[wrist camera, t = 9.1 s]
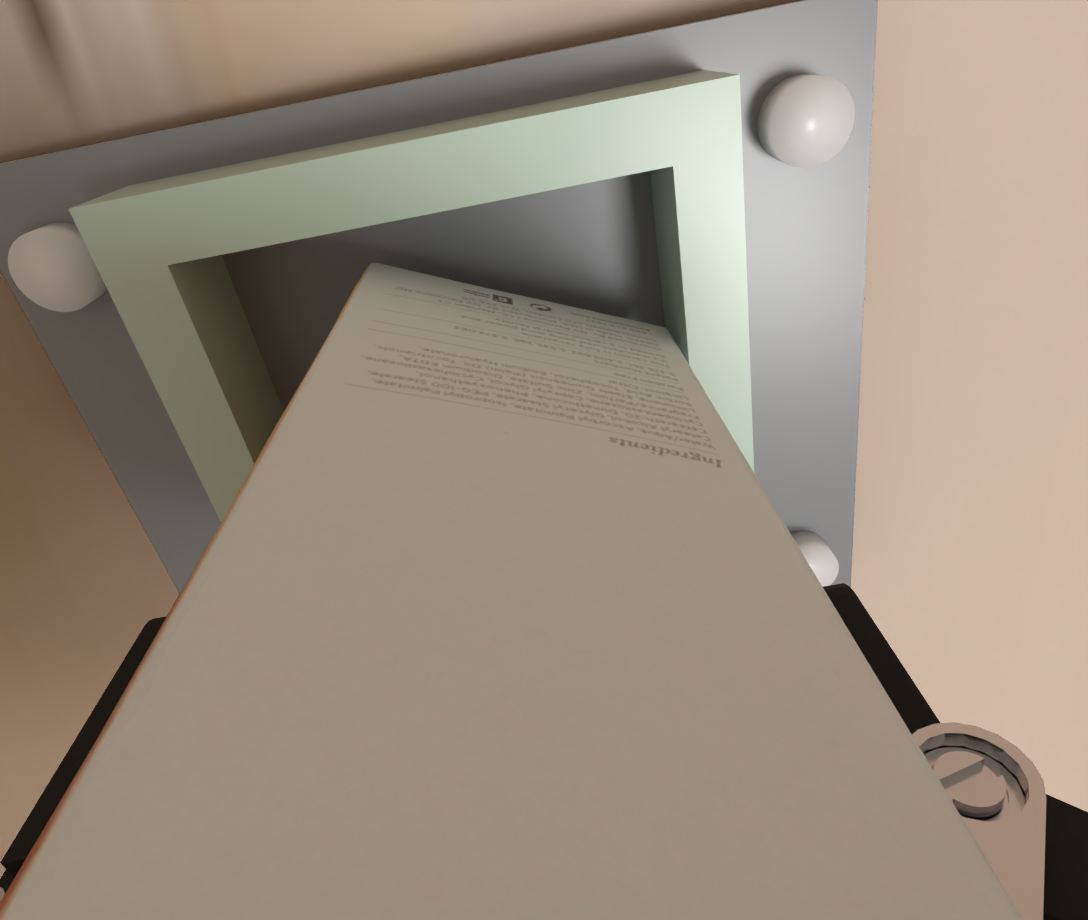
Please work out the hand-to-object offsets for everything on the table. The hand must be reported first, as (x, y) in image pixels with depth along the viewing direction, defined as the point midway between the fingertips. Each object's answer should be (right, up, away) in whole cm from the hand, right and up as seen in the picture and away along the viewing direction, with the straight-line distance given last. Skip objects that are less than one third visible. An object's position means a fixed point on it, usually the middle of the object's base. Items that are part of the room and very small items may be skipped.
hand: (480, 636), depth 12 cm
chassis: (0, +4, +7) cm, 8 cm away
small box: (0, +3, +5) cm, 6 cm away
